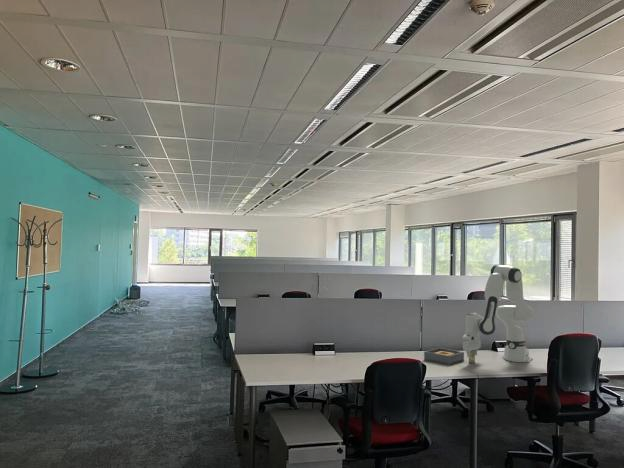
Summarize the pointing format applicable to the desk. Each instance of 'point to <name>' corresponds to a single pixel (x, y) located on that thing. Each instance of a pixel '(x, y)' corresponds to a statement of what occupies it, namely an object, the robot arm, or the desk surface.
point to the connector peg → (472, 356)
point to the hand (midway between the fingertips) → (472, 356)
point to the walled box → (444, 356)
